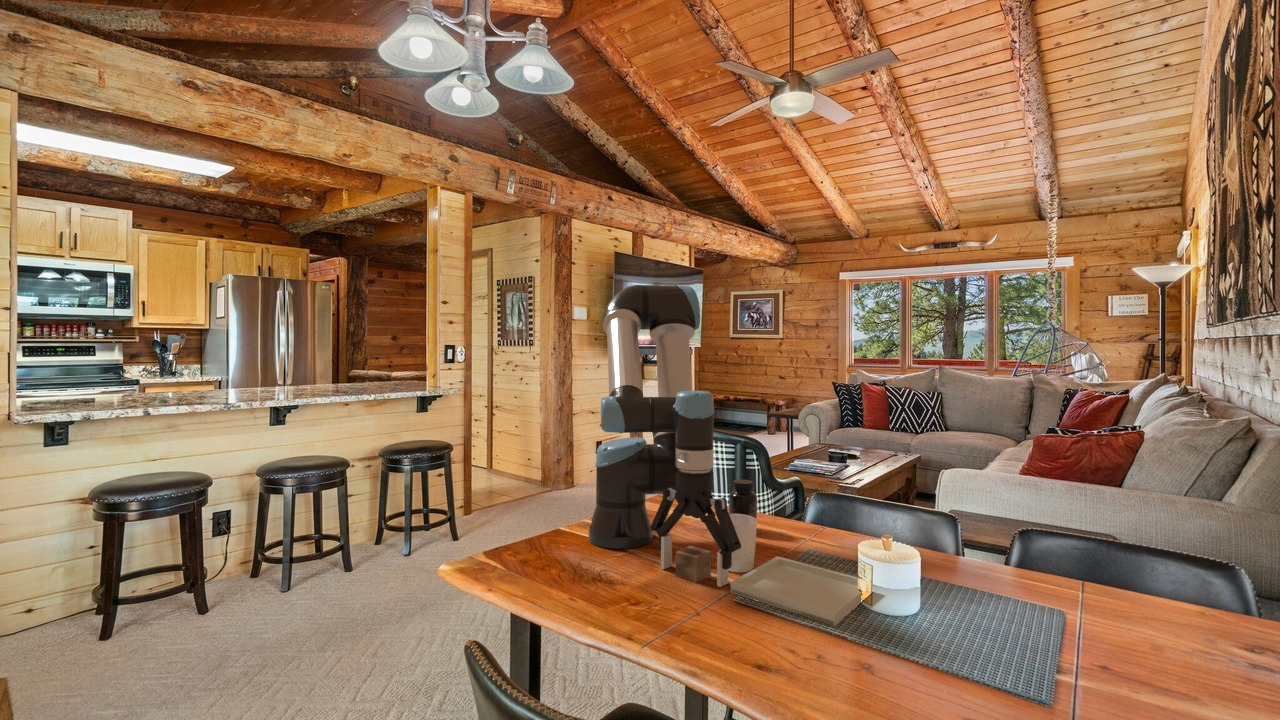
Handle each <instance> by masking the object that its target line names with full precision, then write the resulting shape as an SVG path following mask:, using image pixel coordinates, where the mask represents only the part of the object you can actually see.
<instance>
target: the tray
mask: <svg viewBox="0 0 1280 720" xmlns="http://www.w3.org/2000/svg"><path fill="white" fill-rule="evenodd" d="M857 577H858V576H854V575H850V574H846V573H842V572H839V571H835V570H832V569H831V570H830V569H828V568H823V567H819V566H815V565H813V564H812V565H811V564H808V563H805V562H800V561H797V560H793V559H790V558H785V557H781V556H777V555H776V556H775V557H774V558H771V559H769V560H767V562H766V561H765V563H763V564H761V565H759V566H757V567H754V568H753V569H752V570H751V571H748V572H745V573H744V574H743V575H741V576H739V577H737V578H736V579H734V580H732V581H730V594H733V595H735V596H740V597H742V596H744V597H743V598H745V597H748V598H751V599H755V600H758V601H760V602H763V603H762V604H764V603H767V604H770V605H773V606H775V607H774V608H776V607H777V609H779V608H781V609H780V610H782V609H783V611H785V610H787V611H786V612H788V611H790V612H789V613H791V612H793V613H792V614H794V613H796V614H795V615H798V614H799V615H798V616H801V615H802V616H801V617H804V616H805V617H804V618H807V617H808V619H810V618H811V620H813V619H814V620H813V621H816V620H817V621H816V622H819V621H820V622H819V623H822V622H823V623H822V624H825V623H826V625H829V626H832V627H835V626H837V625H838V624H839V623H840V622H841V621H842V620H843V619H845V618H846V617H847V616H848V615H850V614H851V613H852V612H853V611H854V610H856V608H857V607H858V605H859V604H860V603H861V592H860V591H859V590H858V589H857ZM748 598H747V599H748ZM751 599H750V600H751ZM760 602H759V603H760ZM767 604H766V605H767ZM861 604H862V603H861ZM861 604H860V605H861ZM770 605H769V606H770ZM860 605H859V606H860ZM773 606H772V607H773ZM852 610H853V611H852ZM851 611H852V612H851ZM845 616H846V617H845ZM844 617H845V618H844Z"/></svg>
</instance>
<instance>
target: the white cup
mask: <svg viewBox="0 0 1280 720" xmlns="http://www.w3.org/2000/svg"><path fill="white" fill-rule="evenodd" d="M729 515H730V518H731V520H732V523H733V525H734V528H735V530H736V533H737V536H738V538H739V541H740V543H741V548H740V549H738V550H736V551H734V552H732V562H731V563H732V566H731V568H729V569H728V572H731V573H748V572H750V571H752V570H753V569H755V567H754V566H755V555H756V545H757V544H756V543H757V527H758V518H757V519H756V518H754V517H752V516H749V515H744V514H729ZM717 521H718V520H717ZM718 523H719V521H718ZM719 551H721V550H720V549H719Z"/></svg>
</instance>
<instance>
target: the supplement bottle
mask: <svg viewBox="0 0 1280 720" xmlns="http://www.w3.org/2000/svg"><path fill="white" fill-rule="evenodd" d="M732 484H733V485H732V486H733V487H732V489H733V491H731V492H730V493H729V496H728V512H729V514H744V515H749V516H752V517H754V518H756V519H757V520H758V496H757V494H756V493H755V492H754V491H753V490H754V482H753V480H749V479H734V480H733V482H732Z"/></svg>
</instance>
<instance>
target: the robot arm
mask: <svg viewBox="0 0 1280 720" xmlns="http://www.w3.org/2000/svg"><path fill="white" fill-rule="evenodd" d="M602 315H603V316H602V328H603V329H602V330H603V331H604V333H605V334H606V335H607V337H606V339H607V344H606V345H607V369H608V370H607V371H608V374H607V376H608V377H607V378H608V396H605V397H602V398H601V399H600V429H601V430H602V431H603V432H606V433H614V434H615V433H616V434H617V433H618V434H624V433H625V434H626V433H627V434H628V433H629V434H630V433H656V434H655V435H654V436H653V443H652V444H647V441H646V439H645V438H644V437H640V436H638V437H637V436H636V437H623V438H616V439H612V440H608V441H606V442H603V443H601V444H600V445H598V447H597V449H596V460H595V461H596V462H595V464H594V465H595V467H596V473H595V474H596V480H595V481H596V483H595V487H596V489H595V495H596V496H595V499H596V500H595V501H596V502H595V509H594V511H593V515H592V519H591V523H590V525H589V527H588V541H589V542H590V543H591V544H592V545H595V546H597V547H599V548H600V547H602V548H606V549H614V550H615V549H616V550H620V549H621V550H624V549H626V550H627V549H635V548H639V547H644V546H646V545H648V544H650V543H651V542H652V541H653V539H654V532H655V533H657V535H658V551H660V570H661V569H662V570H665V569H669V568H670V567H672V566H673V534H672V533H670V532H671V530H672V529H673V527H675V525H676V524H677V523H678V522H679V521H680V520H681V518H682V517H683V516H685V517H692V518H693V519H699V520H700V521H701V522H702V523H704V525H705V527H706V528H707V530H708V532H709V533H710V535H711V536H712V538H713V540H714V542H715V544H716V545H717V546H718V549H719V551H717V553H716V587H719V588H721V587H723V586H725V585H727V584H729V571H728V569H729V568H731V566H732V563H731V562H732V552H734V551H736V550H738V549H740V548H741V543H740V541H739V538H738V536H737V533H736V530H735V528H734V525H733V523H732V520H731V518H730V515H729V509H728V504H727V503H728V501H727V499H726V497H721V498H714V497H713V489H714V471H712V469H713V468H714V425H715V424H714V422H715V418H714V417H715V411H716V410H715V405H714V403H715V402H714V395H713V393H712V392H711V391H707V390H705V391H704V390H693V378H692V377H693V376H692V364H691V363H692V361H691V350H690V349H691V347H690V340H691V339H692V338H693V337H694V336H695V334H696V333H695V332H696V330H699V328H700V325H701V307H700V301H699V298H698V294H697V292H696V290H695V289H694V288H693V287H691V286H690V285H679V284H673V285H663V284H662V285H656V284H655V285H653V284H649V285H648V284H647V285H646V284H645V285H644V284H634V285H630V286H627V287H625V288H623V289H621V290H620V291H618V292H617V293H616V294H614V296H613V297H612V298H611V299H610V301H608V303H607V305H606V306H605V309H604V311H603V314H602ZM641 330H643V331H644V330H647V331H649V338H650V339H652V340H653V341H654V342H655V347H656V348H655V351H656V372H657V373H656V375H657V376H656V377H657V396H644V389H643V387H644V386H643V377H642V366H641V364H642V363H641V356H640V355H641V353H640V343H639V333H640V331H641ZM646 495H662V500H661V502H660V504H659V507H658V508H657V510H656V513H655V515H654V518H653V520H652V522H651V521H650V517H649V513H648V510H647V507H646V505H647V504H646ZM674 500H676V503H677V504H676V506H675V507H674V509H673V510H672V513H671V514H670V515H669V512H670V510H671V508H672V505H673V504H674ZM714 511H715V512H714ZM668 515H669V516H668ZM667 516H668V518H667ZM718 521H719V522H718ZM720 550H721V551H720Z"/></svg>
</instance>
